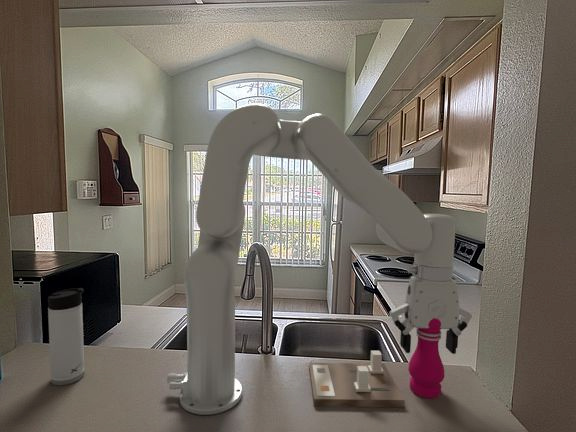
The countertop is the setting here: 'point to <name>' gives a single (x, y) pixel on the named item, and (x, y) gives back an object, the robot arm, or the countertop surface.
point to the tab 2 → (375, 363)
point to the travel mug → (66, 336)
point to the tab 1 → (362, 379)
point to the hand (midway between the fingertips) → (428, 350)
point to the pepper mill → (427, 362)
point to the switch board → (351, 387)
